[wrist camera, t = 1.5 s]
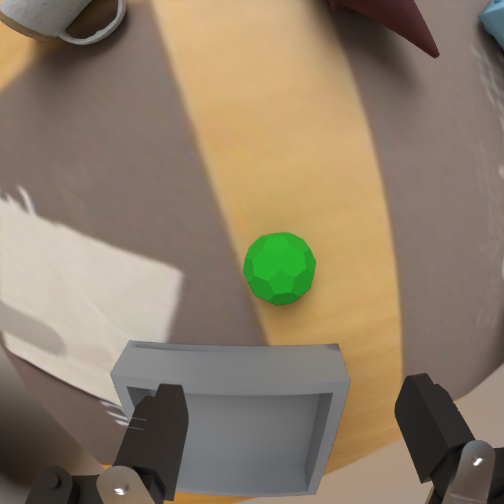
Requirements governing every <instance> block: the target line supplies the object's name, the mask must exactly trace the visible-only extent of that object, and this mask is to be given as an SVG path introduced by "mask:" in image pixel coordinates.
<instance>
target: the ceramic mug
mask: <svg viewBox="0 0 504 504" xmlns="http://www.w3.org/2000/svg"><path fill="white" fill-rule="evenodd" d="M91 1H92V0H2V2H1V4H0V20H1V21H2V22H3V23H4V24H5V25H7V26H8V27H10V28H11V29H13V30H15V31H17V32H19V33H21V34H23V35H25V36H27V37H30V38H33V39H36V40H39V41H51V40H54V39H56V38H57V37H58V36H59V37H60V38H62V39H63V40H64V41H67V42H70V43H73V44H79V45H87V44H92V43H96V42H98V41H100V40H102V39H104V38H106V37H107V36H109V35H110V34H111V33H112V32H113V31H114V30H115V29H116V28H117V27H118V26H119V24H120V23H121V22H122V19H123V17H124V15H125V12H126V0H118V8H117V10H118V12H117V16H116V18H115V19H114V20H113V21H112V22H111V23H110V24H109V25H108V26H107V27H106V28H104V29H103V30H100V31H97V32H96V34H95V35H93V36H90V37H88V38H87V39H77V38H74V37H72V36H70V35H68V34H67V33H66V32H65V30H66V29H67V28H68V26H69V25H70V24H71V23H72V22H73V21H74V20H75V18H76V17H77V16H78V15H79V14H80V12H81V11H82V10H83V9H84V8H85V7H86V6H87V5H88V4H89V3H90V2H91Z"/></svg>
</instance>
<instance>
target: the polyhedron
mask: <svg viewBox="0 0 504 504" xmlns="http://www.w3.org/2000/svg"><path fill="white" fill-rule="evenodd" d="M315 266H316V261H315V258H314V256H313V254H312V252H311V250H310V248H309V247H308V245H307V244H306V243H305V241H304V240H303V239H301V238H299V237H297V236H295V235H293V234H292V233H283V232H282V233H274V234H268V235H265V236H261V237H259V238H258V239H257V240H256V241H255V242H254V243H253V244H252V245H251V246H250V247H249V249H248V252H247V254H246V257H245V262H244V268H243V273H244V276H245V278H246V280H247V282H248V284H249V285H250V287H251V289H252V291H253V292H254V294H255V295H256V296H257V297H260V298H262V299H264V300H266V301H268V302H271V303H273V304H275V305H283V304H290V303H293V302H294V301H295V300H297V299H298V298H299V297H300V296H302V295H303V294H304V293H305V292H306V291H307V290H309V289H310V288H311V284H312V280H313V276H314V271H315Z"/></svg>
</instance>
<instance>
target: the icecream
mask: <svg viewBox="0 0 504 504" xmlns="http://www.w3.org/2000/svg"><path fill="white" fill-rule="evenodd" d="M327 1H329V2H330V6H331V10H332V11H339V10H341V9H343V8H352V9H354V10H356V11H358V12H360V13H362V14H364V15H366V16H367V17H369V18H371V19H373V20H375V21H377V22H378V23H380V24H382V25H384V26H385V27H387V28H389V29H391V30H392V31H394V32H396V33H397V34H399V35H400V36H402V37H404V38H405V39H407V40H408V41H410V42H411V43H413V44H414V45H416V46H417V47H419V48H420V49H421V50H423V51H424V52H426V53H427V54H429V55H430V56H431V57H433V58H437V57H438V56H439V55H440V54H439V51H438V49H437V46H436V44H435V42H434V40H433V37H432V35H431V33H430V31H429V29H428V27H427V25H426V23H425V21H424V19H423V17H422V15H421V13H420V11H419V9H418V7H417V5H416V4H415V2H414V0H327Z"/></svg>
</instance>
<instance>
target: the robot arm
mask: <svg viewBox="0 0 504 504" xmlns="http://www.w3.org/2000/svg"><path fill="white" fill-rule="evenodd" d="M395 417H396V420H397V423H398V425H399V427H400V430H401V432H402V435H403V437H404V440H405V442H406V445H407V447H408V450H409V452H410V455H411V458H412V460H413V463H414V466H415V468H416V471H417V474H418V476H419V479H420V482H421V484H422V483H425V482H428V481H432V482H433V487H432V488H431V490H430V493H429V495H428V497H427V500H426V502H425V504H504V447H503V448H492V446H491V445H490V444H488V443H487V442H485V441H482V440H476V439H475V438H474V437H473V434H472V433H471V431H470V429H469V427H468V426H467V424H466V422H465V420H464V419H463V417H462V415H461V414H460V412H459V411H458V408H457V407H456V405H455V403H453V400H452V398H451V397H450V395H449V394H448V392H447V391H446V390H445V389H443V388H442V387H441V386H440V385H439V384H433V382H432V380H431V379H430V377H429V376H428V374H426V373H422V374H416V375H411V376H407V377H406V378H405V380H404V383H403V385H402V388H401V391H400V393H399V396H398V398H397V401H396V404H395ZM188 424H189V414H188V409H187V404H186V400H185V395H184V390H183V387H182V385H178V384H166V383H160V384H159V386H158V389H157V392H156V395H155V397H153V396H145V397H144V398H143V399H142V400H141V401H140V402H139V403H138V404H137V405H136V407H135V410H134V412H133V415H132V419H131V420H130V423H129V425H128V428H127V431H126V433H125V436H124V439H123V441H122V444H121V447H120V449H119V452H118V455H117V458H116V460H115V462H114V464H113V465H112V467H109V468H107V469H105V470H104V471H102V473H101V474H98V475H91V476H89V475H88V476H71V475H70V474H69V473H68V472H67V471H66V470H65V469H63V468H61V467H58V466H48V467H45V468H43V469H42V470H40V471H39V472H38V474H37V475H36V477H35V480H34V482H33V485H32V487H31V490H30V492H29V495H28V497H27V500H26V503H25V504H163V502H164V500H168V501H174V495H175V490H176V485H177V480H178V475H179V470H180V465H181V460H182V455H183V450H184V445H185V440H186V435H187V431H188Z"/></svg>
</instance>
